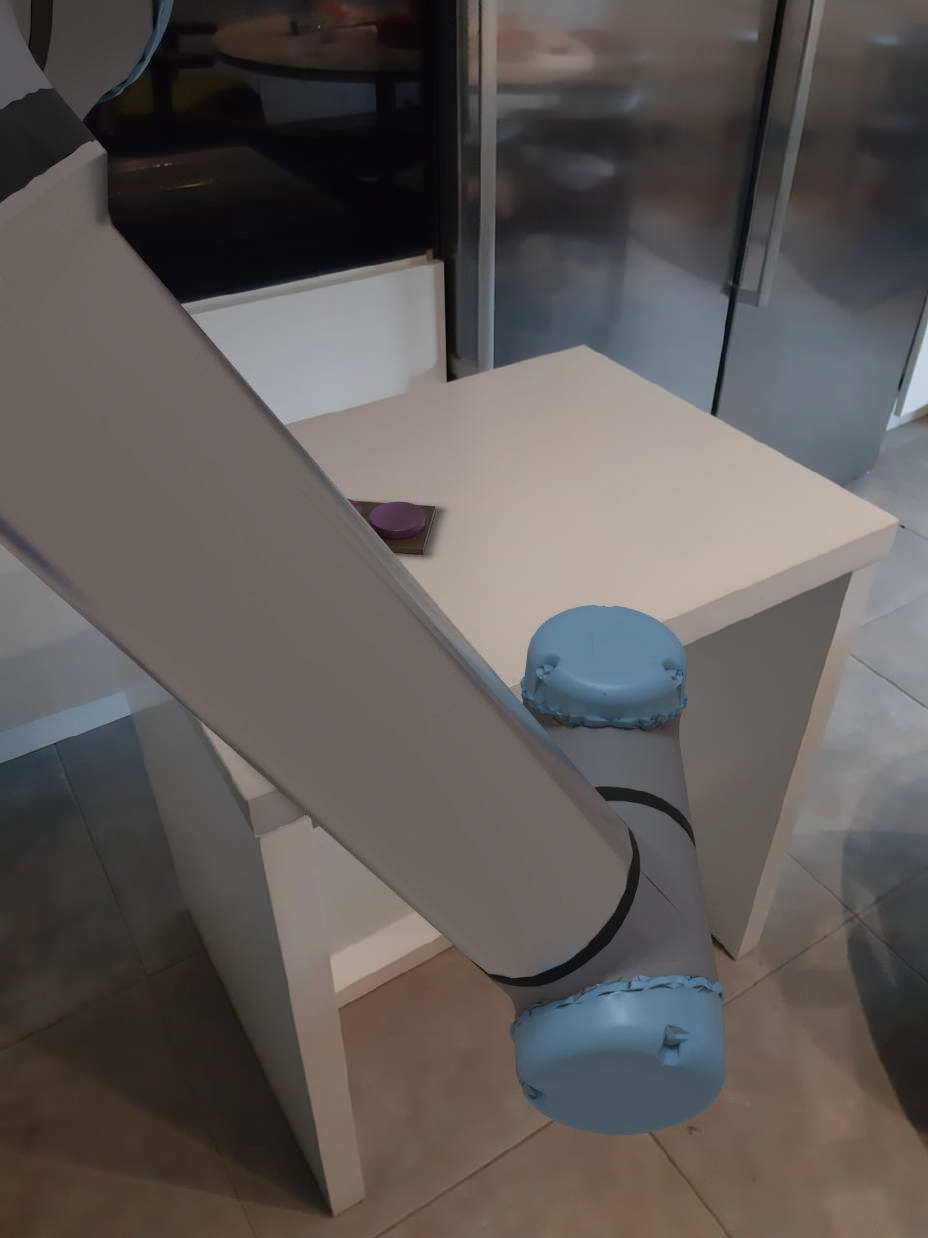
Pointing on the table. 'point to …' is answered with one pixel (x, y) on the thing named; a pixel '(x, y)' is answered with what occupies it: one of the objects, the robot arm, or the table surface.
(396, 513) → the board
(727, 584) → the table surface
